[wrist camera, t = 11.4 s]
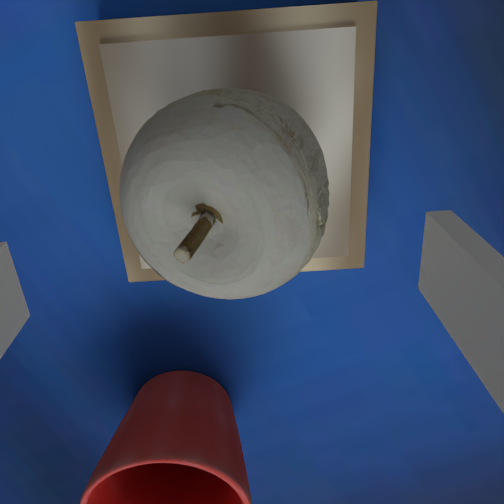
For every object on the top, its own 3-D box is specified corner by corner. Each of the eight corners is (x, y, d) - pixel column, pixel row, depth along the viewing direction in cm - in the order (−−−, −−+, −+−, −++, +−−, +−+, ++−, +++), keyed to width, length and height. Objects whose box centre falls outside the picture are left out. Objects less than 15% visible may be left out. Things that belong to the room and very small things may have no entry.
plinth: (141, 251, 32) (127, 284, 28) (98, 20, 26) (72, 22, 22) (350, 238, 32) (365, 270, 28) (358, 2, 25) (379, 0, 22)
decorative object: (349, 155, 25) (409, 236, 16) (238, 266, 28) (235, 387, 19) (220, 30, 22) (204, 42, 13) (111, 167, 25) (37, 254, 16)
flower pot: (94, 367, 36) (48, 479, 28) (234, 341, 35) (230, 448, 27) (139, 461, 41) (111, 581, 32) (263, 440, 40) (268, 558, 32)
